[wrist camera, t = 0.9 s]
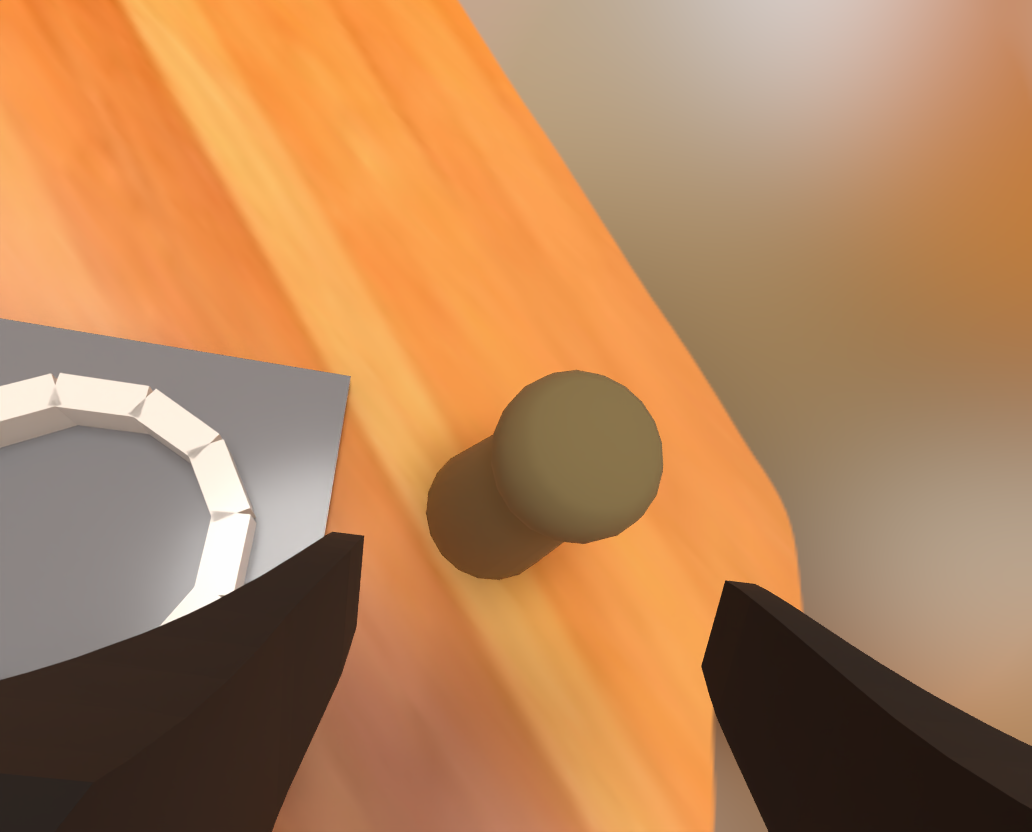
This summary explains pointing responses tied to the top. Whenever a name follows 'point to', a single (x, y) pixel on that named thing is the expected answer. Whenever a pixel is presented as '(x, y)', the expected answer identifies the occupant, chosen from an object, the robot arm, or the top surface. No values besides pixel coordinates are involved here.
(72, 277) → the top surface
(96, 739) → the robot arm
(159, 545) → the ring stand
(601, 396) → the cork
